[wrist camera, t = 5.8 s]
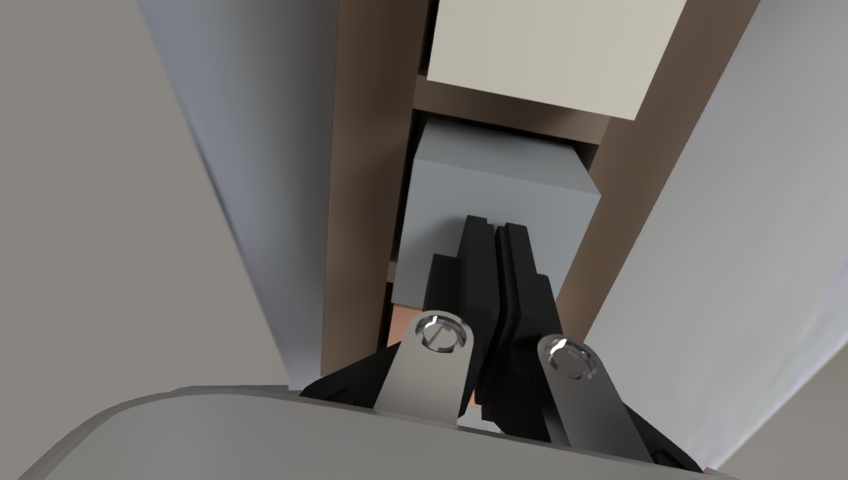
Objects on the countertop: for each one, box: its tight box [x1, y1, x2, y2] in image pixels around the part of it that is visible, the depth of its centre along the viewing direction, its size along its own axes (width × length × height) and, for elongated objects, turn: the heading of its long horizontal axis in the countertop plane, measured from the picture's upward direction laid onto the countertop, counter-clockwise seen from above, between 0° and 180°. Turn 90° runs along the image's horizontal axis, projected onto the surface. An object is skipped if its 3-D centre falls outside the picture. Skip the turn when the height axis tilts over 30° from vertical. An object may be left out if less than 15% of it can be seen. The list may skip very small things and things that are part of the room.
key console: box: [320, 0, 760, 407], centre depth 17 cm, size 11×21×5 cm, turn 171°
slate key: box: [391, 117, 601, 309], centre depth 14 cm, size 5×5×4 cm
